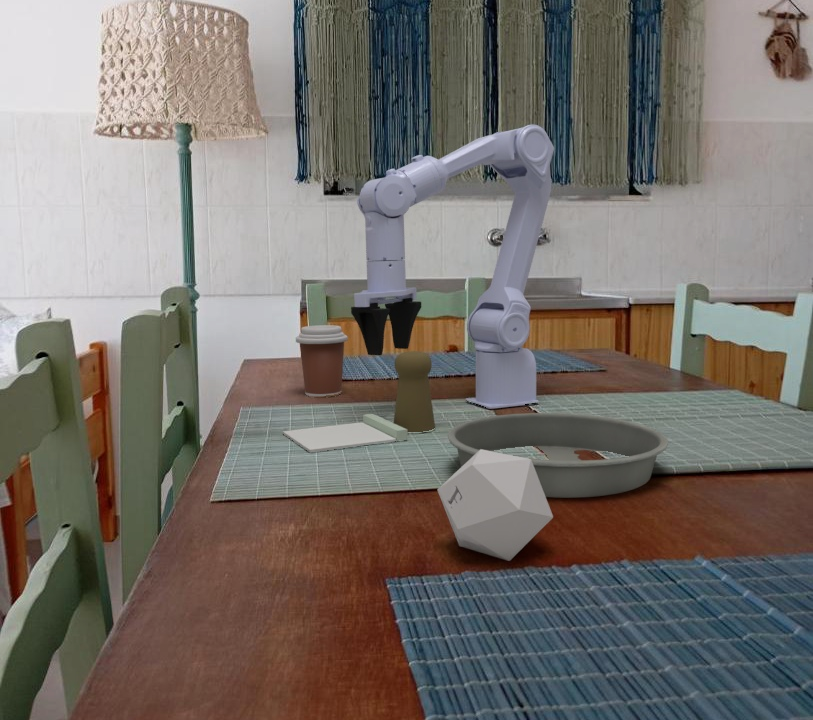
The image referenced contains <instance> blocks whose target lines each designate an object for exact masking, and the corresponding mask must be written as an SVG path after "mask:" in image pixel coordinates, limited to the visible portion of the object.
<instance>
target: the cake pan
mask: <svg viewBox="0 0 813 720" xmlns="http://www.w3.org/2000/svg"><path fill="white" fill-rule="evenodd" d="M447 440H448V441H449V443H450V444H451V445H452V446H453V447H454V448H456V449H457V454H458V459H459V463H460V468H461V467H462V466H463V465H464V464H465V463H466V462H467V461H468V460H469V459H471V458H472V457H473V456H474V455H475V454H476V453H477V452H478V451H479V450H480V449H482V450H488V451H494V450H500V449H506V448H515V447H525V446H533V447H538V448H539V449H540V450H542V451H543V452H544V454H546V455H547V457H548V458H549V459H550V460H541V459H531V460H532V463H533V466H534V468H535V471H536V473H537V476H538V479H539V481H540V484H541V486H542V489H543V491H544V494H545V497H546V498H560V499H561V498H591V497H601V496H610V495H617V494H621V493H625V492H629V491H632V490H635V489H638V488H640V487H642V486H643V485H645V484H647V483H648V482H649V481H650V479H651V477H652V473H653V469H654V467H655V462H656V459H657V457H658V455H660V454H662V453H663V452H664V451H665V450H666V449H667V448H668V446H669V439H668V438H667V437H666V436H665V435H664V434H663V433H662V432H660V431H658V430H656V429H654V428H651V427H649V426H646V425H643V424H640V423H636V422H634V421H628V420H623V419H618V418H611V417H605V416H598V415H590V414H580V413H579V414H577V413H559V412H533V413H532V412H531V413H530V412H529V413H511V414H499V415H491V416H487V417H480V418H476V419H471V420H468V421H465V422H462V423H460V424H457V425H455V426H454V427H452V428H451V429H450V430H449V432H448V433H447ZM576 451H590V452H597V451H608V452H613V453H617V454H621V455H625V456H629V457H616V458H615V457H614V458H607V459H606V458H605V459H590V460H588V459H587V460H582V459H580V458H579V456H580V454H577V453H575V452H576Z"/></svg>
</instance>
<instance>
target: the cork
mask: <svg viewBox="0 0 813 720" xmlns="http://www.w3.org/2000/svg"><path fill="white" fill-rule="evenodd" d="M432 365H433V362H432V359H431V357H430V355H429V354H428V353H425V352H422V351H405V352H401V353H399V354H397V356H396V357H395V359H394V369H395V372H396V373H397V375H398V380H397V389H396V398H395V407H394V409H395V410H394V416H393V423H394V424H396V425H398V426H401V427H403V428H405V429H407V432H423V431H429V430H432V429H434V428H435V429H436V423H435V416H434V409H433V402H432V394H431V389H430V381H429V374H430V373H431V370H432V367H433V366H432Z"/></svg>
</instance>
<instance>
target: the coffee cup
mask: <svg viewBox="0 0 813 720" xmlns="http://www.w3.org/2000/svg"><path fill="white" fill-rule="evenodd" d="M300 329H301V331H300V332H301V333H299V335H298V336H296V337H295V343H297V344H299V349H300V357H301V358H300V360H301V368H302V376H303V384H304V385H303V386H304V394H306V395H309V396H326V395H334V394H338V393H340V392H342V390H343V373H344V372H343V371H344V370H343V369H344V354H345V353H344V351H345V350H344V349H345V342H347V341H348V338H349V337H348V335H346V334H345V333H344V332H343V331H342V330H343V329H342V327H341V325H330V324H327V325H326V324H325V325H324V324H320V325H318V324H317V325H316V324H315V325H306V326H302V327H301V328H300ZM306 395H305V396H306Z"/></svg>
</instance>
